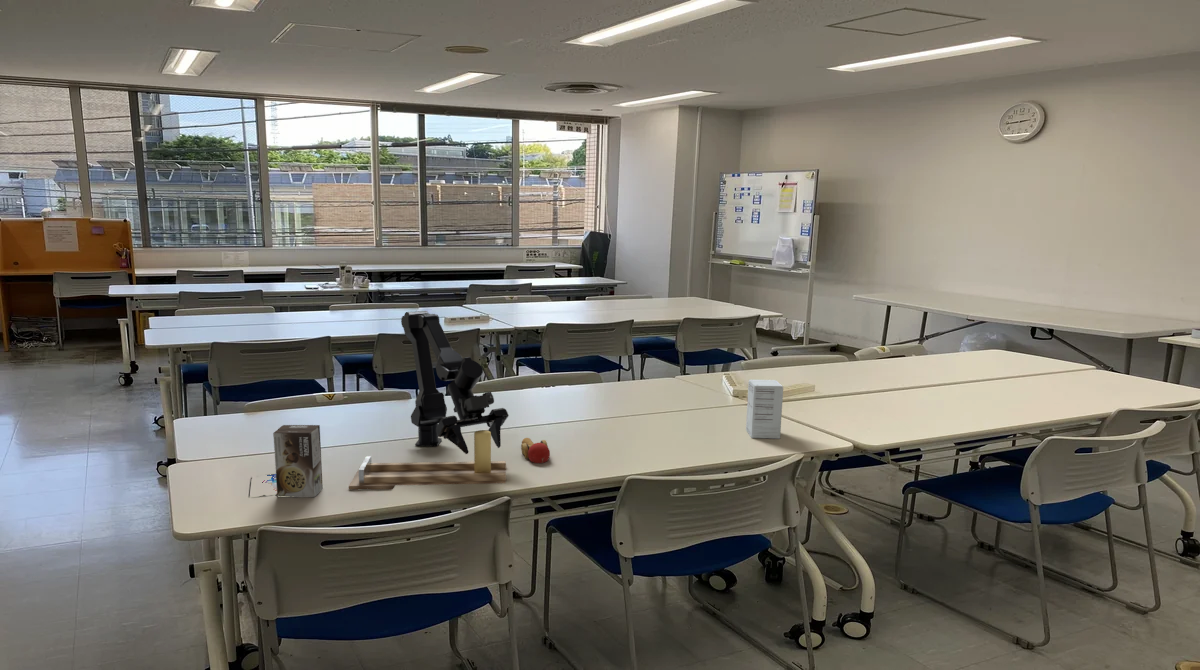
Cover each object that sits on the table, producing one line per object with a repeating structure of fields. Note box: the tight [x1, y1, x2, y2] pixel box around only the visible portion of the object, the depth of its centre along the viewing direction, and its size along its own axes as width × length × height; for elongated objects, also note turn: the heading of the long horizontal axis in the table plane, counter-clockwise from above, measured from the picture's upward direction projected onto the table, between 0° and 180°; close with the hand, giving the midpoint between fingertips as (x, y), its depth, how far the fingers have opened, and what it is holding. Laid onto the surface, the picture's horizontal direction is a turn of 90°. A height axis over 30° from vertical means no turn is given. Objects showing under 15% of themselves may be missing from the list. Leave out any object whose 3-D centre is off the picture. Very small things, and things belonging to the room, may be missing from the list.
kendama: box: [520, 437, 551, 464], centre depth 211 cm, size 8×6×18 cm
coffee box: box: [272, 424, 324, 498], centre depth 180 cm, size 9×6×16 cm
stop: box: [358, 455, 372, 483], centre depth 191 cm, size 1×10×4 cm, turn 7°
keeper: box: [473, 429, 492, 473], centre depth 194 cm, size 4×4×11 cm
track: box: [348, 460, 507, 491], centre depth 193 cm, size 38×14×2 cm, turn 97°
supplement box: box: [745, 379, 784, 440], centre depth 237 cm, size 10×9×17 cm
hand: (483, 450), depth 193 cm, fingers open, 9 cm apart
